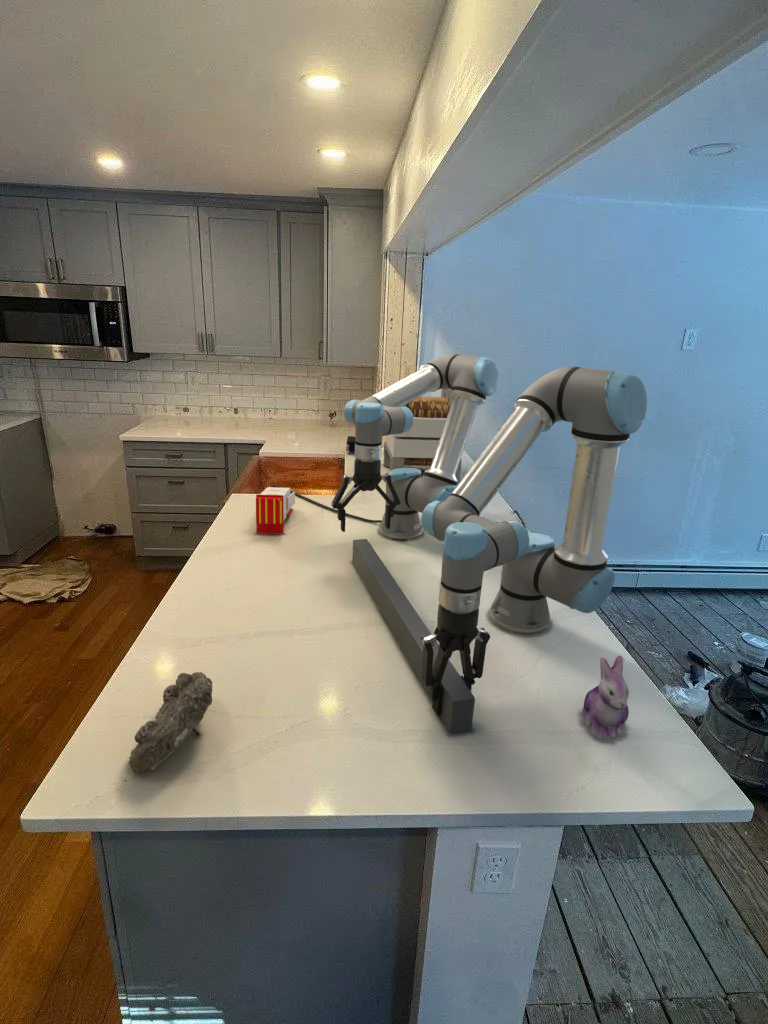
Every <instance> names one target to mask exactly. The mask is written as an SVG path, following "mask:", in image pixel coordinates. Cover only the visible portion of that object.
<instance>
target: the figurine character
mask: <svg viewBox="0 0 768 1024" xmlns="http://www.w3.org/2000/svg"><path fill="white" fill-rule="evenodd" d="M345 447H346V449H345V451H346V452H348V455H351V454H352V453H353V455H355V435H354V436H353V435H348V436H347V439H346V446H345Z"/></svg>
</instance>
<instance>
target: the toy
mask: <svg viewBox="0 0 768 1024" xmlns="http://www.w3.org/2000/svg"><path fill="white" fill-rule="evenodd" d="M290 491H291V487H281V488H276V487H270V486H268V487H266V488H265V489H264V490H262V491H261V492H260V494H256V495H255V523H256V534H270V535H271V534H274V535H283V534H284V533H285V532H284V531H285V530H284V528H285V527H284V525H285V524H284V521H285V520H286V518H287V517H289V516H290V515H291V513H292V512H293V508H292V507H293V506H294V505H295V504H296V495H295V493H296V492H295V491H292V492H293V493H292V494H291V493H290Z"/></svg>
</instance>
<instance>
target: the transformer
mask: <svg viewBox="0 0 768 1024" xmlns="http://www.w3.org/2000/svg"><path fill="white" fill-rule="evenodd" d="M440 393H441V394H440V396H420V397H418V398H416V399H415V400H413V401H411V402H409V403H407V404H406V405H404V406H402V407H407V408H409V409H410V410H411V412H412V414H413V417H414V422H413V426H412V428H411V429H410V430H409V431H407V432H403V433H401V434H399V433H398V434H392V435H386V436H385V438H384V442H383V466H384V467H388V468H389V471H391V470H394V469H399V468H405V466H406V467H407V466H411V467H412V466H413V467H415V466H416V467H417V466H418V467H431V464H432V461H433V458H434V455H435V452H436V449H437V446H438V443H439V440H440V437H441V434H442V431H443V428H444V425H445V422H446V419H447V416H448V413H449V410H450V407H451V404H452V401H453V396H452V394H451V389H441V392H440ZM462 461H463V460H462V457H461V459H460V462H459V465H458V468H457V471H456V474H455V477H456V479H457V481H458V483H457V484H459V482H460V481H461V472H462Z"/></svg>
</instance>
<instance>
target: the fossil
mask: <svg viewBox="0 0 768 1024" xmlns="http://www.w3.org/2000/svg"><path fill="white" fill-rule="evenodd" d="M212 694H213V681H212V679H211V678H210V677H207V674H205V673H203V672H201V671H200V672H199V671H195V672H193V673H192V674H191V673H186V672H181V673H179V675H178V676H177V678H176V680H175V684H174V683H173V684H171V685H168V686H167V687H166V688H165V689H164V691H163V694H162V701H163V703H162V705H161V706H160V708H159V710H158V712H157V714H156V715H155V720H148V721H146V722H145V723H144V725H141V726H140V728H139V729H138V730H137V732H136V733H135V735H134V741H135V743H137V744H136V746H135V747H134V748H133V750H131V751H130V756H129V757H128V759H129V760H128V765H129V768H130V769H131V770H134V771H136V772H139V773H141V772H144V771H150V770H152V771H154V770H155V769H157V768H158V767H159V766H160V765H161V764H162V763H163V762H165V760H167V759H168V758H169V757H170V756H171V755H172V754H173V753H174V752H175V751H176V750H177V749H178V748H179V747H181V746H182V743H184V740H185V738H187V737H188V736H190V734H191V732H194V733H195V735H197V736H200V735H201V733H200V732H199V731H198V730H197V728H196V727H195V726H196V725H199V724H200V723H201V721H202V720H203V719H204V716H205V714H206V712H207V710H208V708H209V706H211V705H212V703H213V696H212Z"/></svg>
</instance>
